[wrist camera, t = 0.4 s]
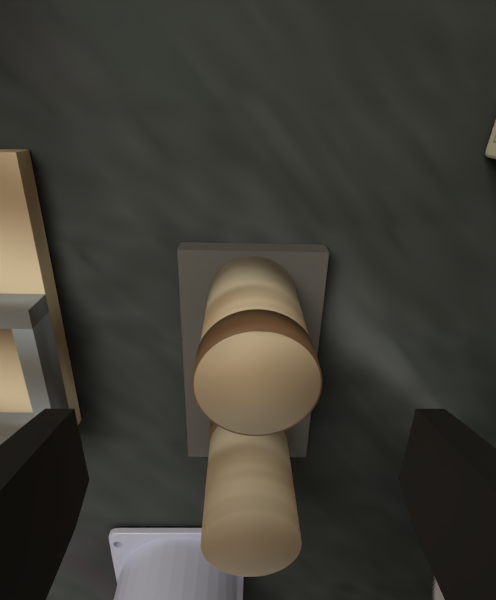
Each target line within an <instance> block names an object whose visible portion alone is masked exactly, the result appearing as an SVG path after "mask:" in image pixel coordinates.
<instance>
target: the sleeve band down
mask: <svg viewBox="0 0 496 600" xmlns="http://www.w3.org/2000/svg"><path fill="white" fill-rule="evenodd" d="M288 446H289V440H288V433H287V430H285V431H282V432H279V433H276V434H272V435H265V436H247V435H241V434H236V433H233V432H230V431H227V430H225V429H223V428H221V427H219V426H217V425H216V424H214V423H213V422H211V424H210V435H209V458H208V469H207V479H206V490H205V501H204V512H203V523H202V534H201V551H202V554H203V556H204V558H205V559H206V560H207V561H208V562H209V563H210V564H211V565H212V566H213V567H215V568H216V569H218V570H220V571H222V572H225V573H228V574H231V575H236V576H243V577H257V576H264V575H268V574H272V573H275V572H277V571H280V570H282V569H284V568H285V567H287V566H288V565H290V564H291V563H292V562H293V561H294V560H295V559H296V558H297V556H298V554H299V552H300V550H301V534H300V527H299V520H298V513H297V506H296V499H295V491H294V484H293V477H292V470H291V463H290V455H289V448H288Z"/></svg>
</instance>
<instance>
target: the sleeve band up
mask: <svg viewBox="0 0 496 600" xmlns="http://www.w3.org/2000/svg"><path fill="white" fill-rule="evenodd" d="M322 384H323V379H322V372H321V368H320V365H319V362H318V358H317V355H316V352H315V348H314V345H313V342H312V340H311V338H310V336H309V334H308V331H307V327H306V324H305V320H304V317H303V314H302V310H301V307H300V303H299V300H298V297H297V293H296V290H295V286H294V283H293V281H292V278H291V277H290V275H289V273H288V272H287V271H286V270H285V269H284V268H283V267H282V266H281V265H280V264H278V263H277V262H275V261H273V260H271V259H268V258H265V257H260V256H245V257H241V258H237V259H235V260H232V261H230V262H229V263H227V264H226V265H224V266H223V267H222V268H221V269H220V270H219V271H218V272H217V273H216V275H215V276H214V278H213V280H212V282H211V285H210V289H209V295H208V301H207V306H206V312H205V318H204V324H203V330H202V336H201V341H200V344H199V347H198V350H197V355H196V361H195V366H194V372H193V378H192V390H193V395H194V398H195V401H196V403H197V405H198V407H199V408H200V410H201V411H202V413H203V414H204V415H205V416H206V417H207V418H208V419H209V420H210V421H211V422H213V423H214V424H216V425H217V426H219V427H221V428H223V429H225V430H227V431H230V432H233V433H236V434H241V435H247V436H265V435H272V434H276V433H279V432H282V431H285V430H287V429H289V428H291V427H294V426H295V425H297V424H298V423H300V422H301V421H302V420H304V419H305V418H306V417H307V416H308V415H309V414H310V413H311V412H312V410H313V409H314V408H315V406H316V404H317V402H318V400H319V398H320V395H321V391H322Z"/></svg>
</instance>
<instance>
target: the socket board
mask: <svg viewBox="0 0 496 600" xmlns="http://www.w3.org/2000/svg"><path fill="white" fill-rule="evenodd" d="M44 409H75V413H76V418H77V423H78V425H79V423H80V421H81V414H80V409H79V404H78V399H77V394H76V389H75V383H74V378H73V373H72V368H71V363H70V358H69V353H68V347H67V342H66V337H65V332H64V327H63V322H62V317H61V311H60V306H59V301H58V296H57V291H56V286H55V281H54V275H53V270H52V265H51V260H50V255H49V250H48V245H47V239H46V234H45V229H44V224H43V219H42V214H41V209H40V203H39V198H38V193H37V188H36V183H35V178H34V173H33V167H32V162H31V157H30V152H29V150H21V149H0V445H1V444H2V443H3V442H4V441H6V440H7V439H8V438H9V437H10V436H12V435H13V434H14V433H15V432H17V431H18V430H19V429H20V428H21V427H23V426H24V425H25V424H26V423H27V422H29V421H30V420H31V419H32V418H34V417H35V416H36V415H37V414H39V413H40V412H41V411H43V410H44Z"/></svg>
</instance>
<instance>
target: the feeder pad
mask: <svg viewBox="0 0 496 600" xmlns="http://www.w3.org/2000/svg"><path fill="white" fill-rule="evenodd" d="M177 253H178V272H179V291H180V310H181V328H182V347H183V366H184V384H185V403H186V422H187V441H188V457H209V435H210V424H211V421H210V420H209V419H208V418H207V417H206V416H205V415H204V414H203V413H202V411H201V410H200V408H199V407H198V405H197V403H196V401H195V398H194V395H193V390H192V378H193V372H194V366H195V361H196V355H197V350H198V347H199V344H200V341H201V336H202V330H203V324H204V318H205V312H206V306H207V301H208V295H209V289H210V285H211V282H212V280H213V278H214V276H215V275H216V273H217V272H218V271H219V270H220V269H221V268H222V267H223V266H224V265H226V264H227V263H229V262H230V261H232V260H235V259H237V258H241V257H245V256H260V257H265V258H268V259H271V260H273V261H275V262H277V263H278V264H280V265H281V266H282V267H283V268H284V269H285V270H286V271H287V272H288V273H289V275H290V277H291V278H292V281H293V283H294V286H295V290H296V293H297V297H298V300H299V303H300V307H301V310H302V314H303V317H304V320H305V324H306V327H307V331H308V334H309V336H310V338H311V340H312V342H313V345H314V348H315V352H316V355H317V356H318V347H319V338H320V329H321V320H322V312H323V303H324V294H325V285H326V276H327V267H328V259H329V251H328V250H327V248H326V246H325V245H320V244H261V243H203V242H181V243H180V245H179V247H178V249H177ZM310 418H311V413H310V414H309V415H308V416H307V417H306V418H305V419H304V420H302V421H301V422H300V423H298V424H297V425H295V426H294V427H291V428H289V429H287V433H288V440H289V446H288V448H289V455H290V457H306V453H307V444H308V435H309V426H310Z"/></svg>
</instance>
